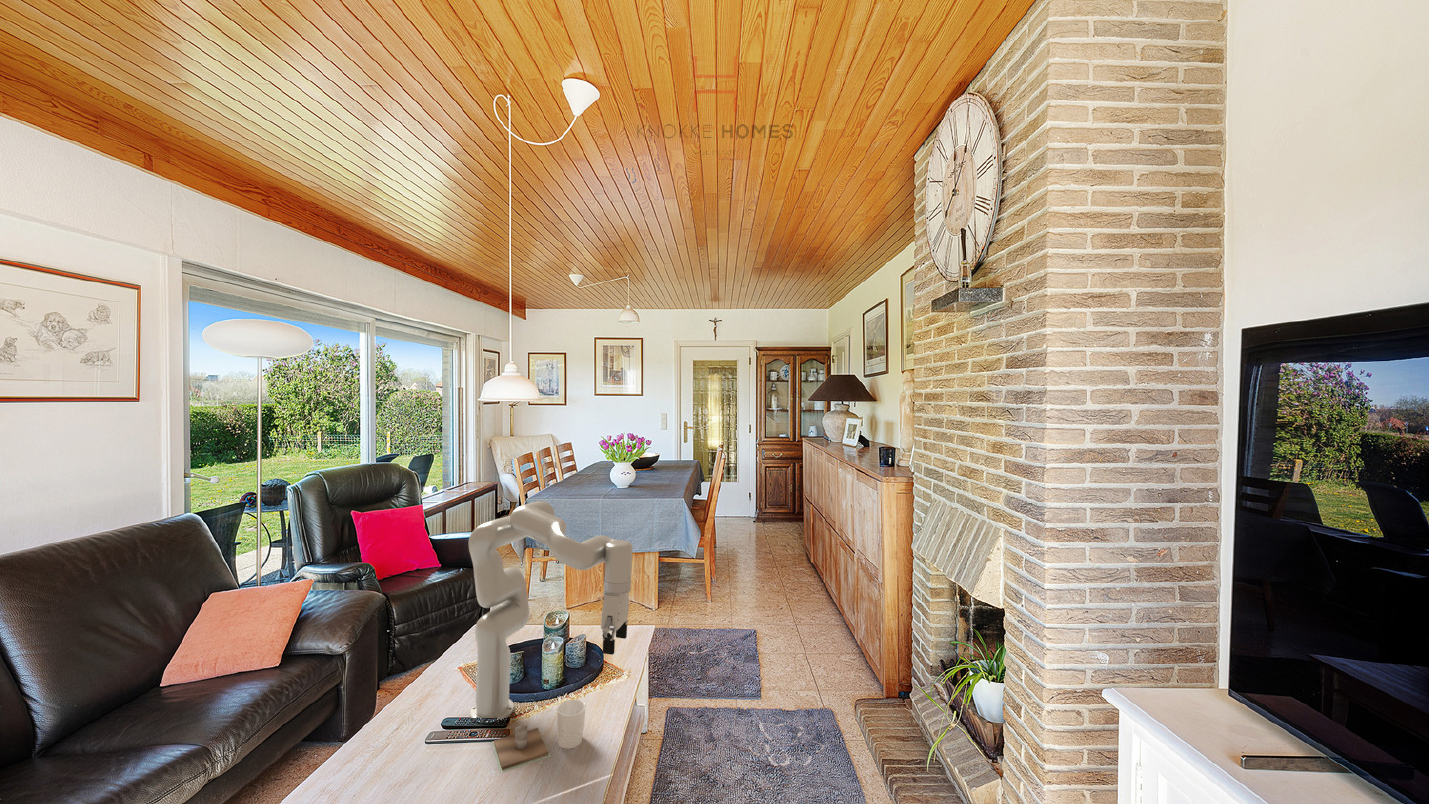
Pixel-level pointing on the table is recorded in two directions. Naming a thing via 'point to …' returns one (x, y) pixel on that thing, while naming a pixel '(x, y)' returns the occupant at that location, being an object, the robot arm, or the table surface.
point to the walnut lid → (520, 747)
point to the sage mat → (521, 763)
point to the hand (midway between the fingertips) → (614, 645)
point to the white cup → (570, 723)
